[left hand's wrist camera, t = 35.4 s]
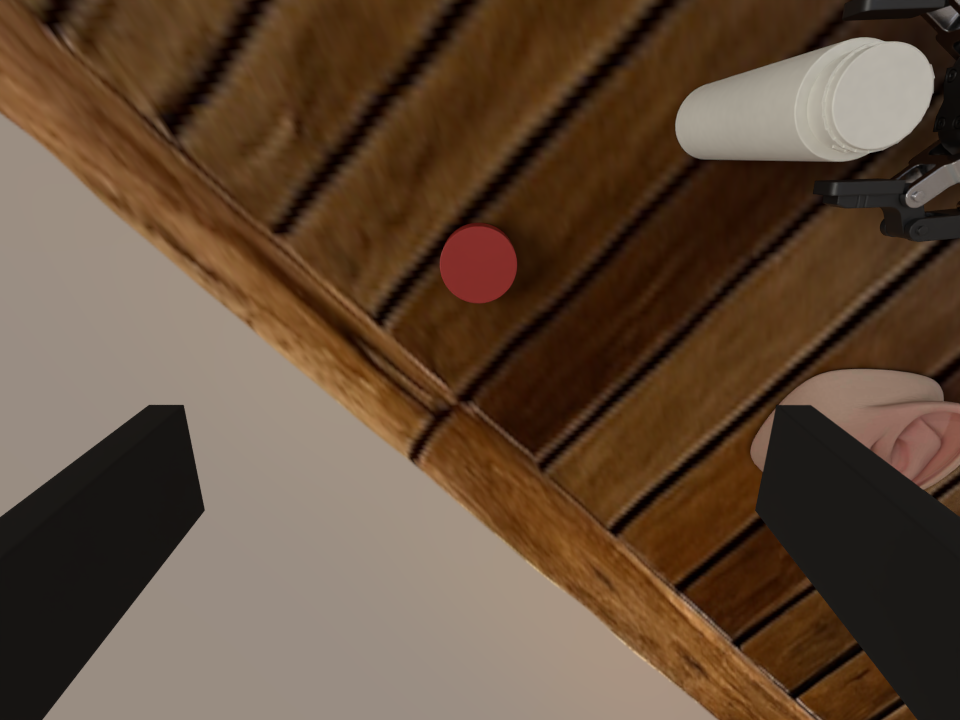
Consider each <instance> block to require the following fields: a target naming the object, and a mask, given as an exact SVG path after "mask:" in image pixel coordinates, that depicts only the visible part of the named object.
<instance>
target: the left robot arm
mask: <svg viewBox="0 0 960 720" xmlns="http://www.w3.org/2000/svg"><path fill="white" fill-rule="evenodd" d="M204 510H205V509H204V504H203V499H202V494H201V489H200V484H199V479H198V474H197V469H196V464H195V459H194V454H193V449H192V444H191V439H190V434H189V429H188V424H187V419H186V414H185V409H184V405H148V406H147V407H146V408H144V409H143V410H142V411H140V412H139V413H138V414H136V415H135V416H134V417H132V418H131V419H130V420H128V421H127V422H126V423H124V424H123V425H122V426H121V427H119V428H118V429H117V430H115V431H114V432H113V433H111V434H110V435H109V436H107V437H106V438H105V439H103V440H102V441H101V442H99V443H98V444H97V445H95V446H94V447H93V448H91V449H90V450H89V451H87V452H86V453H85V454H83V455H82V456H81V457H79V458H78V459H77V460H75V461H74V462H73V463H71V464H70V465H69V466H67V467H66V468H65V469H63V470H62V471H61V472H60V473H58V474H57V475H56V476H54V477H53V478H52V479H50V480H49V481H48V482H46V483H45V484H44V485H42V486H41V487H40V488H38V489H37V490H36V491H34V492H33V493H32V494H30V495H29V496H28V497H26V498H25V499H24V500H22V501H21V502H20V503H18V504H17V505H16V506H14V507H13V508H12V509H10V510H9V511H8V512H6V513H5V514H4V515H2V516H1V517H0V720H42V719H43V718H44V717H45V716H46V714H47V713H48V712H49V710H50V709H51V708H52V707H53V705H54V704H55V703H56V701H57V700H58V699H59V698H60V696H61V695H62V694H63V692H64V691H65V690H66V689H67V687H68V686H69V685H70V683H71V682H72V681H73V680H74V678H75V677H76V676H77V674H78V673H79V672H80V670H81V669H82V668H83V667H84V665H85V664H86V663H87V662H88V660H89V659H90V658H91V656H92V655H93V654H94V652H95V651H96V650H97V649H98V647H99V646H100V645H101V643H102V642H103V641H104V640H105V638H106V637H107V636H108V634H109V633H110V632H111V631H112V629H113V628H114V627H115V625H116V624H117V623H118V622H119V620H120V619H121V618H122V616H123V615H124V614H125V612H126V611H127V610H128V609H129V607H130V606H131V605H132V603H133V602H134V601H135V600H136V598H137V597H138V596H139V594H140V593H141V592H142V591H143V589H144V588H145V587H146V585H147V584H148V583H149V582H150V580H151V579H152V578H153V576H154V575H155V574H156V573H157V571H158V570H159V569H160V567H161V566H162V565H163V563H164V562H165V561H166V560H167V558H168V557H169V556H170V555H171V553H172V552H173V551H174V549H175V548H176V547H177V545H178V544H179V543H180V542H181V540H182V539H183V538H184V536H185V535H186V534H187V533H188V531H189V530H190V529H191V527H192V526H193V525H194V524H195V522H196V521H197V520H198V518H199V517H200V516H201V515H202V513H203V512H204ZM755 511H756V512H757V513H758V515H759V516H760V517H761V518H762V520H763V521H764V522H765V524H766V525H767V526H768V527H769V529H770V530H771V531H772V533H773V534H774V535H775V536H776V538H777V539H778V540H779V542H780V543H781V544H782V545H783V547H784V548H785V549H786V551H787V552H788V553H789V555H790V556H791V557H792V558H793V560H794V561H795V562H796V564H797V565H798V566H799V567H800V569H801V570H802V571H803V573H804V574H805V575H806V576H807V578H808V579H809V580H810V582H811V583H812V584H813V585H814V587H815V588H816V589H817V591H818V592H819V593H820V594H821V596H822V597H823V598H824V600H825V601H826V602H827V604H828V605H829V606H830V607H831V609H832V610H833V611H834V613H835V614H836V615H837V616H838V618H839V619H840V620H841V622H842V623H843V624H844V625H845V627H846V628H847V629H848V631H849V632H850V633H851V634H852V636H853V637H854V638H855V640H856V641H857V642H858V643H859V645H860V646H861V647H862V649H863V650H864V651H865V652H866V654H867V655H868V656H869V658H870V659H871V660H872V662H873V663H874V664H875V665H876V667H877V668H878V669H879V671H880V672H881V673H882V674H883V676H884V677H885V678H886V680H887V681H888V682H889V683H890V685H891V686H892V687H893V689H894V690H895V691H896V692H897V694H898V695H899V696H900V698H901V699H902V700H903V701H904V703H905V704H906V705H907V707H908V708H909V709H910V711H911V712H912V713H913V714H914V716H915V717H916V718H917V720H960V517H959V516H958V515H956V514H955V513H954V512H952V511H951V510H950V509H948V508H947V507H946V506H944V505H943V504H942V503H940V502H939V501H938V500H936V499H935V498H934V497H932V496H931V495H930V494H928V493H927V492H926V491H924V490H923V489H922V488H920V487H919V486H918V485H916V484H915V483H914V482H912V481H911V480H910V479H908V478H907V477H906V476H904V475H903V474H902V473H901V472H899V471H898V470H897V469H895V468H894V467H893V466H891V465H890V464H889V463H887V462H886V461H885V460H883V459H882V458H881V457H879V456H878V455H877V454H875V453H874V452H873V451H871V450H870V449H869V448H867V447H866V446H865V445H863V444H862V443H861V442H859V441H858V440H857V439H855V438H854V437H853V436H851V435H850V434H849V433H847V432H846V431H845V430H843V429H842V428H841V427H839V426H838V425H837V424H836V423H834V422H833V421H832V420H830V419H829V418H828V417H826V416H825V415H824V414H822V413H821V412H820V411H818V410H817V409H816V408H814V407H813V406H812V405H776V409H775V414H774V419H773V424H772V429H771V434H770V439H769V444H768V449H767V454H766V459H765V464H764V469H763V474H762V479H761V484H760V489H759V494H758V499H757V504H756V509H755Z"/></svg>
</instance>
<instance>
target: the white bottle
mask: <svg viewBox="0 0 960 720" xmlns="http://www.w3.org/2000/svg"><path fill="white" fill-rule="evenodd" d="M934 78H935V76H934V72H933V68H932V64H929V62H928V60H927V58H926V57H925V55H924V54H923V53H922V52H921V51H920V50H918V49H917V48H916V47H914V46H912V45H910V44H907V43H904V42H884V41H882V40H879V39H875V38H868V37H865V38H854V39H850V40H847V41H844V42H840V43H837V44H834V45H831V46H828V47H824V48H821V49H818V50H815V51H812V52H808V53H805V54H802V55H799V56H796V57H793V58H789V59H786V60H783V61H780V62H777V63H773V64H770V65H767V66H764V67H761V68H757V69H754V70H751V71H748V72H745V73H741V74H738V75H735V76H732V77H729V78H726V79H722V80H719V81H716V82H713V83H710V84H706V85H703V86H701V87H699V88H697V89H696V90H694V91H693V92H692V93H691V94H690V95H689V96H688V97H687V98H686V99H685V100H684V102H683V103H682V105H681V107H680V109H679V111H678V114H677V118H676V135H677V139H678V141H679V143H680V145H681V147H682V148H683V149H684V150H685V151H686V152H687V153H688V154H690V155H691V156H693V157H695V158H699V159H712V160H770V161H827V162H844V161H850V160H854V159H858V158H860V157H862V156H865V155H867V154H869V153H872V152H876V151H881V150H884V149H886V148H888V147H890V146H892V145H894V144H897V143H898V142H899V141H901V140H902V139H903V138H904V137H906V136H907V135H908V134H910V133H911V132H912V130H913V129H914V128H915V127H916V126H917V125H918V123H919V122H921V120H922V118H923V116H924V114H925V112H926V110H927V108H929V104H930V101H931V97H932V93H934Z"/></svg>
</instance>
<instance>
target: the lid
mask: <svg viewBox="0 0 960 720" xmlns="http://www.w3.org/2000/svg"><path fill="white" fill-rule="evenodd" d="M440 271H441V275H442V278H443V281H444V283H445V285H446V286H447V288H448V289H449V290H450V291H451V292H452V293H453V294H454V295H455V296H457V297H458V298H460V299H462V300H464V301H467V302H471V303H486V302H490V301H493V300H495V299H497V298H499V297H500V296H502V295H503V294H504V293H505V292H506V291H507V290H508V289H509V288H510V286H511V285H512V283H513V281H514V279H515V276H516V272H517V258H516V253H515V251H514V248H513V245H512V243H511V241H510V240H509V238H508V237H507V236H506V235H505V233H504V232H502V231H501V230H500V229H498V228H497V227H495V226H492V225H490V224H486V223H471V224H467V225H465V226H462V227H461V228H459V229H457V230H456V231H455V232H454V233H453V234H452V235H451V236H450V237H449V238H448V240H447V242H446V243H445V246H444V248H443V251H442V254H441V258H440Z"/></svg>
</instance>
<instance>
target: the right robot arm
mask: <svg viewBox="0 0 960 720" xmlns="http://www.w3.org/2000/svg"><path fill="white" fill-rule="evenodd" d="M919 15H921V16H922V17H923V18H924V19H925V20H926V21H927V22H928V23H929V24H930V25H931V26H932V27H933V28H934V29H935V30H936V31H937V35H936V40H937V42H938V43H939V44H940V45H941V46H942V47H943V48H944V49H945V50H946V51H947V52H948V53H949V54H950V55H951V56H952V57H953V58H954V59H955V60H956V62H955V64H954V66H953V67H952V68H947V71H946V76H945V80H944V101H943V104H942V106H941V108H940V110H939V112H938V114H937V116H936V120H935V125H934V129H933V132H938V136H939V140H938V141H936V142H935V143H934V144H932V145H931V146H929V147H928V148H927V149H925V150H924V151H922V152H921V153H920V154H918V155H917V156H915V157H914V158H913V159H911V160H910V161H909V166H908V167H906V168H905V169H904V170H902V171H901V172H899V173H898V174H897V175H895V176H894V177H892V178H891V179H853V180H824V181H815V184H814V190H813V194H818V195H824V197H823V203H824V204H827V205H829V206H833V207H840V208H871V207H880V208H881V209H882V210H883V213H884V219H883V221H882V222H881V224H880V231H881V233H882V234H883V235H885V236H891V237H900V238H906V239H908V240H911V241H917V242H921V241H932V240H943V239H954V238H960V201H959V202H958V203H957V209H948V210H937V211H926V212H924V204H925V203H926V202H928V201H929V200H931V199H932V198H934V197H935V196H937V195H938V194H940V193H941V192H942V191H944V190H945V189H947V188H948V187H950V186H952V185H954V184H957V183H960V0H852V1H850V2H848V3H845V5H844V11H843V17H842V20H844V21H849V20H875V19H902V18H912V17H916V16H919Z"/></svg>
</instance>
